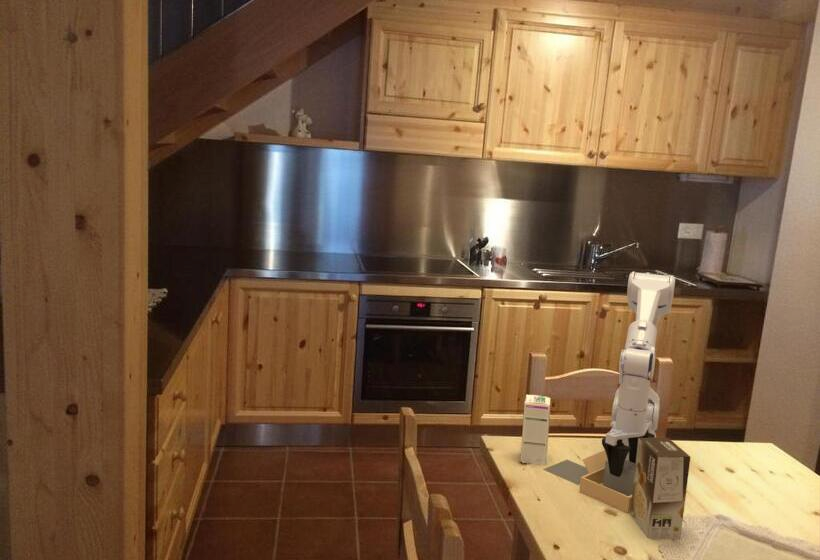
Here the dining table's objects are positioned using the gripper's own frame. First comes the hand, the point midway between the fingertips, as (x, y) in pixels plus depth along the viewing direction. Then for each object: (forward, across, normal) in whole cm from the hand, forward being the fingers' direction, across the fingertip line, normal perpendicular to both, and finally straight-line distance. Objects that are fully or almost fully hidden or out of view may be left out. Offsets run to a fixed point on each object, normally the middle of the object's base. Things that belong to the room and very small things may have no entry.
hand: (625, 470), depth 140 cm
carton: (+5, 0, 0) cm, 5 cm away
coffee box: (+5, +8, +11) cm, 15 cm away
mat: (+5, 0, -12) cm, 13 cm away
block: (+5, 0, 0) cm, 5 cm away
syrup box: (+5, +2, -22) cm, 22 cm away
